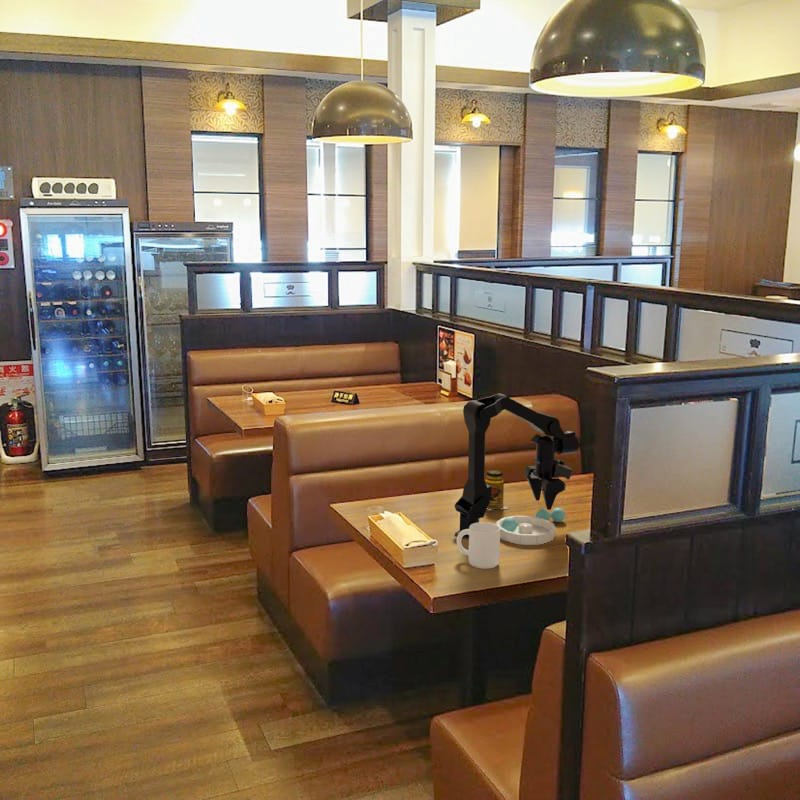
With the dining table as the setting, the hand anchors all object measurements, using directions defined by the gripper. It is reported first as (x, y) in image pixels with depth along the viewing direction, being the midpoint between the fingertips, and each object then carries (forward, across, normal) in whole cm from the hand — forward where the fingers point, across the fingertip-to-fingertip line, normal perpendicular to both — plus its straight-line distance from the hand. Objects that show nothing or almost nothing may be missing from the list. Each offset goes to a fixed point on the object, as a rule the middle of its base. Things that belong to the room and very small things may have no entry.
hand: (543, 504), depth 260 cm
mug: (+6, -27, +30) cm, 40 cm away
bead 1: (+3, -8, +14) cm, 16 cm away
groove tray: (+6, -9, +9) cm, 14 cm away
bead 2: (+4, 0, 0) cm, 4 cm away
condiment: (+6, +18, +10) cm, 22 cm away
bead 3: (+4, 0, -5) cm, 6 cm away
